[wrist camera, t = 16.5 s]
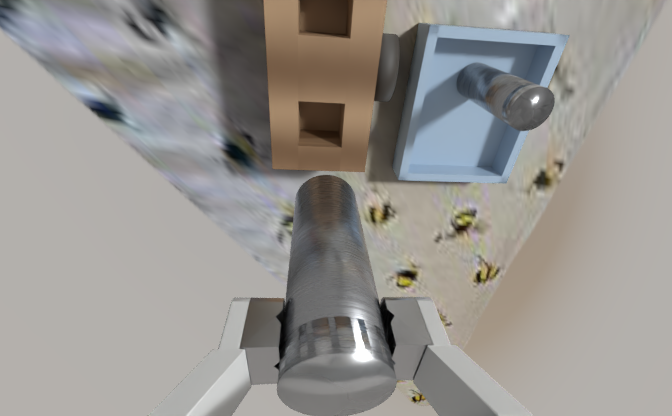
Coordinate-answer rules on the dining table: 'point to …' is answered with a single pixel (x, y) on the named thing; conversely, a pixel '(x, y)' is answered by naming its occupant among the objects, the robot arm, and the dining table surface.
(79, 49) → the dining table surface
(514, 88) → the lock pin
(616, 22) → the dining table surface
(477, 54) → the tray
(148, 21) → the dining table surface
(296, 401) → the lock pin
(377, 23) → the block
